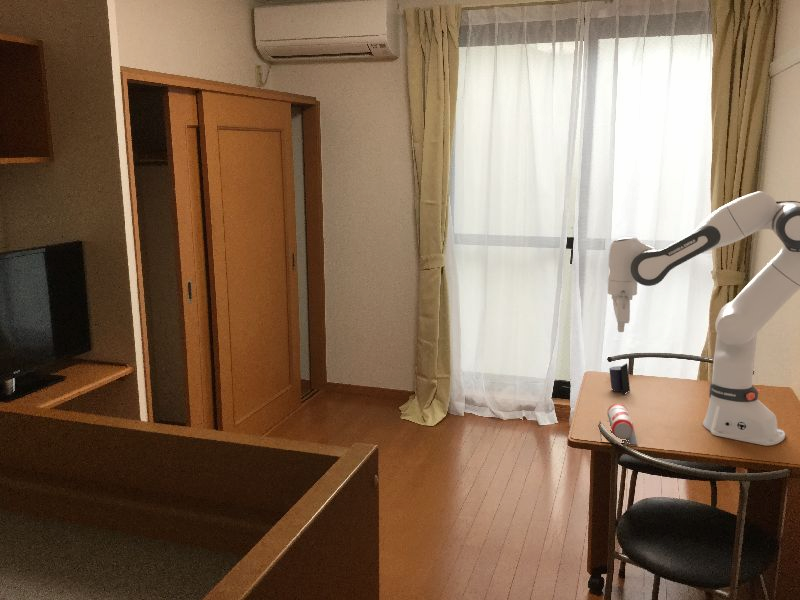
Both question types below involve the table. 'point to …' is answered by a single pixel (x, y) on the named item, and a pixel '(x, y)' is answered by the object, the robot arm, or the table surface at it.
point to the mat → (630, 438)
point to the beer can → (620, 421)
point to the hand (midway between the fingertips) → (620, 331)
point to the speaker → (620, 378)
